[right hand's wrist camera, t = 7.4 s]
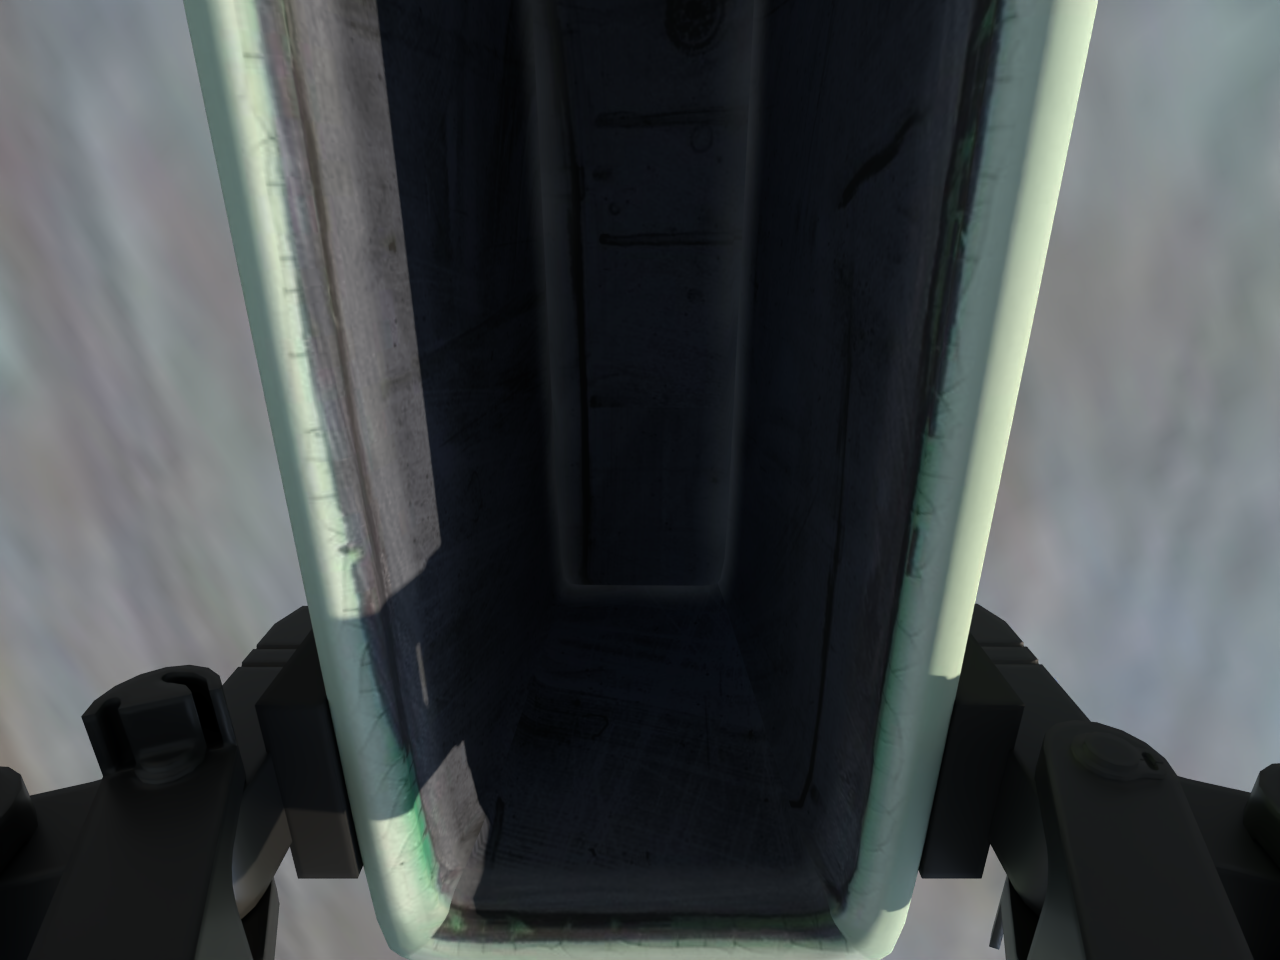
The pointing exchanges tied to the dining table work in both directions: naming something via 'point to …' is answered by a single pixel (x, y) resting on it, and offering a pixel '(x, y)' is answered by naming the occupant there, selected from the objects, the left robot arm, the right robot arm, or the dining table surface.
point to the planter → (640, 435)
